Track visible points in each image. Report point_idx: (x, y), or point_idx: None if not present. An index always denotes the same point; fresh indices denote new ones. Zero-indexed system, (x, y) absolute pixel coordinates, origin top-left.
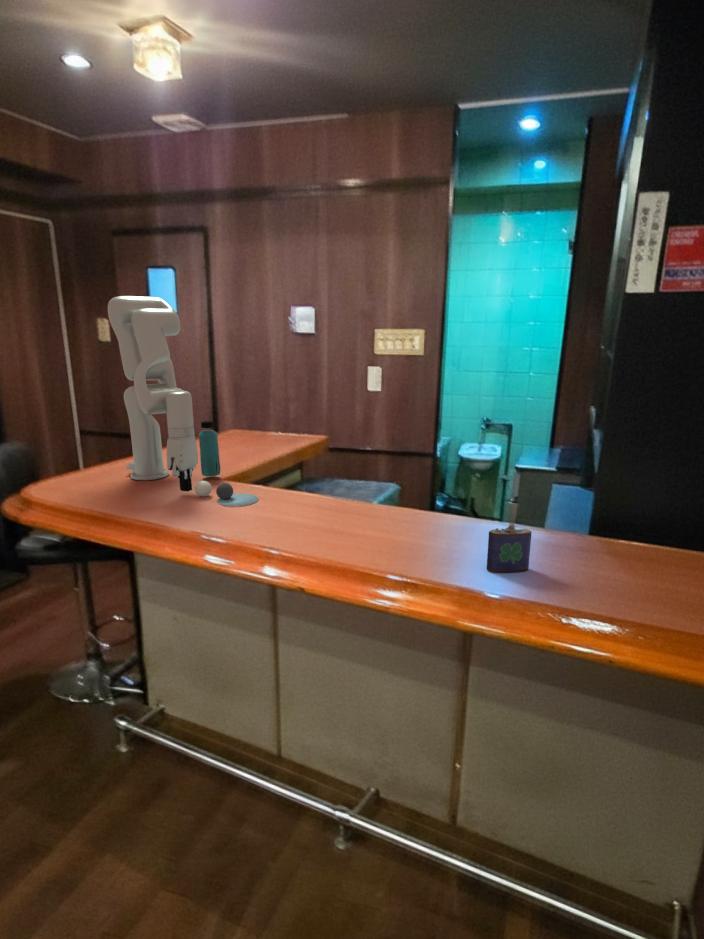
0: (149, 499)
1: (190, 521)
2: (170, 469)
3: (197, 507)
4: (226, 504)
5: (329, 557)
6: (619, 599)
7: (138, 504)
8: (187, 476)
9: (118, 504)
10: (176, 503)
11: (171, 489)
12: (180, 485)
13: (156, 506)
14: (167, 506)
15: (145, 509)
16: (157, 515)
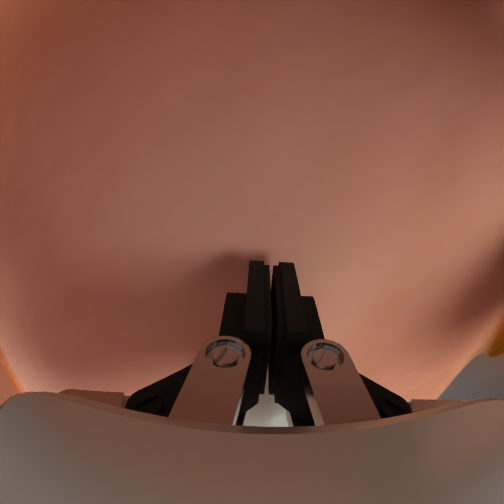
0: (104, 89)
1: (46, 388)
2: (62, 405)
3: (123, 386)
4: None
5: None
6: None
7: (28, 110)
8: (244, 418)
9: (20, 27)
10: (110, 296)
11: (372, 94)
12: (248, 286)
13: (38, 225)
14: (62, 277)
15: (3, 204)
16: (3, 292)
